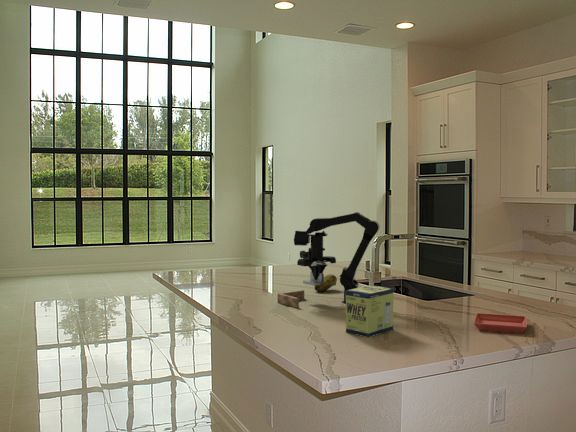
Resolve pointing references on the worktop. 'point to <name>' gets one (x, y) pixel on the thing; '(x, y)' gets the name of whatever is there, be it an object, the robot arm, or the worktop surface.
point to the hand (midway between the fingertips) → (316, 279)
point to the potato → (327, 283)
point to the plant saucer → (500, 322)
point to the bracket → (315, 282)
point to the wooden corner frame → (291, 298)
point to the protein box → (369, 310)
